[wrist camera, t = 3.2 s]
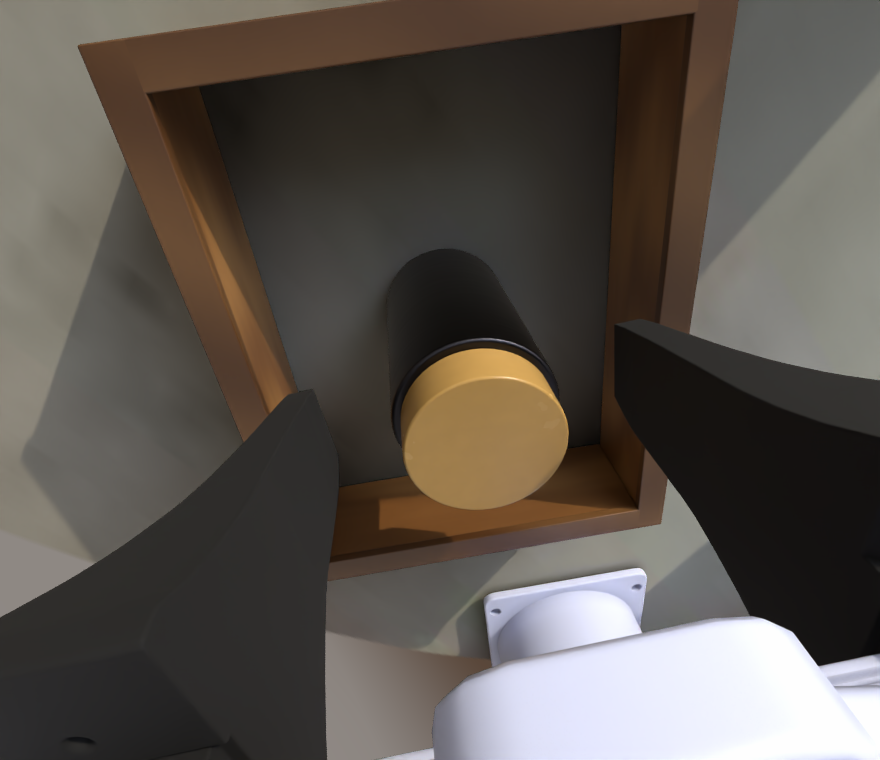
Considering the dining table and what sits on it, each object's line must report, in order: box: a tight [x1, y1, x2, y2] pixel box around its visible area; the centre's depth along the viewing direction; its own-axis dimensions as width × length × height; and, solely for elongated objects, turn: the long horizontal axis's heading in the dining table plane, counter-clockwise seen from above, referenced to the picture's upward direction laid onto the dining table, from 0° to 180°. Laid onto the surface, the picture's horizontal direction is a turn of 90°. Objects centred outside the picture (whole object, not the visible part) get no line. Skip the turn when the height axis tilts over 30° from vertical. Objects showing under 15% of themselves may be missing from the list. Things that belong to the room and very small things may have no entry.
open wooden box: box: [78, 0, 739, 581], centre depth 15 cm, size 16×13×4 cm
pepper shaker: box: [387, 249, 569, 510], centre depth 13 cm, size 4×4×8 cm
